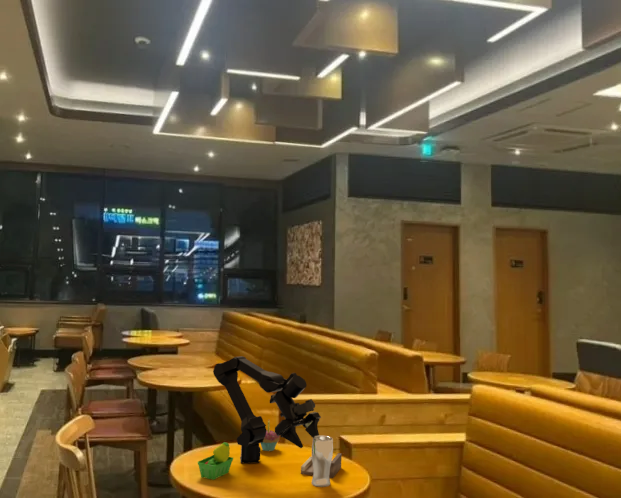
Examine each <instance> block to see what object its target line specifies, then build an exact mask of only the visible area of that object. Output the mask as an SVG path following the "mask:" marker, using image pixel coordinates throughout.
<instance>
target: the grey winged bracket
mask: <svg viewBox="0 0 621 498" xmlns="http://www.w3.org/2000/svg"><path fill="white" fill-rule="evenodd" d="M342 455H343V453H341V452H340V453H339V452H338V453H337V454H336V455H335V457H333V458H332V461H331V466H330V472H329V478H330V479H334V478H335V477H336V475H337V474H338V472H339V471H340V470H341V468H342ZM300 474H301V475H307V476H313V462H312V456H309V458H308V459H307V460H306V461H305V462H304V463H303V464H302V465H301V466H300Z"/></svg>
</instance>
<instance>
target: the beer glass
mask: <svg viewBox="0 0 621 498" xmlns="http://www.w3.org/2000/svg"><path fill="white" fill-rule="evenodd" d="M333 443H334V438H333V437H332V436H329V435H323V434H321V435H320V434H319V436H314V437H313V438H312V444H311V457H312V462H313V475H312V479H311V485H312V486H314V487H318V488H326V487H329V486H330V485H331V478H329V472H330V466H331V461H332V460H333V454H334V453H333V452H334V444H333Z"/></svg>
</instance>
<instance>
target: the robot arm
mask: <svg viewBox="0 0 621 498" xmlns="http://www.w3.org/2000/svg"><path fill="white" fill-rule="evenodd" d="M239 371H240V372H242V373H243V374H245V375H247V376H249V377H250V378H252V379H253V380H255V381H256V382H257V383H258V385H259V387H260V388H261V389H262V390H263V391H264V392H266V393H268V394H270V393H274V394H271V395H270V399H269V404H274V403H275V404H276V406H277V407H278V409H279V411H280V414H279V416H280V417H281V418H283V417H284V419H282V420H281V421H279V423H277V425H276V426H275V427H274V432H275V433H276V435H277V436H279V437H280V438H283V439H285V440H287V441H289V442H290V443H292V444H294V445H295V446H297V447H298V448H299V449H303V448H304V445H303V442H302V441H301V438H300V437H299V434H298V433H297V430H296V429H297V427H300V426H302V427H303V428H305V429H304V431H305V432H307V434H308V435H309V436H310V437H311V438H312V439H313V437H314V436H320V432H319V429H318V428H319V427H318V424H319V422H320V419H321V418H322V417H321V414H320V413H319V412H318V411H317V412H316V411H315V408H316V403H315V401H314V400H313V399H312V398H310V399H308V400H305V402H303V403H300V402H296V401H295V400H294V399H296V398H297V397H298V396H299V395H301V393H302V392H303V391H304V390H305V389H306V388H307V381H306V380H305V379H304V378H303V377H302V376H300V375H298V374H297V373H296V372H292V373H290V375H289V376H288V377H287V378H284V376H283V375H282V374H281V373H276V372H273V371H268V370H265V369H263V368H262V367H261V366H258V365H257V364H255V363H253V362H252V361H250V360H249V359H247V358H246V357H245V356H241V355H240V356H234V357H232V358H231V359H228V360H226V361H224V362H219V363H216V364H215V365H214V368H213V371H212V373H213V376H214V377H215V379H216V380H217V382H218V383H219V384H220V385H222V386H223V387H224V388H225V390H226V392H227V394H228V396H229V398H230V400H231V402H232V405H233V406H234V408H235V411H236V413H237V415H238V417H239V418H240V421H241V422H240V423H241V424H240V431H241V433H240V435H238V436H237V437H236V443H237V445H238V446H240V457H239V459H240V463H241V464H259V463H260V460H261V450H262V448H261V446H260V444H261V443H263V440H264V437H265V436H266V432H267V430H268V429H267V427H266V426H267V424H266V423H265V422H264V420H263V417H262V415H259V416H256V415H255V414H254V413H253V411H252V408H251V406H250V404H249V402H248V400H247V398H246V396H245V393H244V391H243V390H242V387H241V385H240V383H239V381H238V380H239V379H238V378H239ZM309 412H310V413H309ZM307 413H308V414H307Z"/></svg>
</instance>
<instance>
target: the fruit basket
mask: <svg viewBox="0 0 621 498" xmlns="http://www.w3.org/2000/svg"><path fill="white" fill-rule="evenodd" d="M230 449H231V448H230V444H229V443H228V442H225V441H224V442H223V443H221V444H220V445H219V446H217V447H215V448H214V449H213V451H212V452H213V453H212V454H213V455H211V456H209V457H205V458H203V459H201V460H198V461H197V465H198V469H199V473H200V477H201V478H205V479H209V480H216V479H218V478H220V477H223V476H225V475H226V474H228V473H229V472H230V468H231V466H232V462H233V460H234V457H231V456H230V455H231V454H230Z"/></svg>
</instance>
